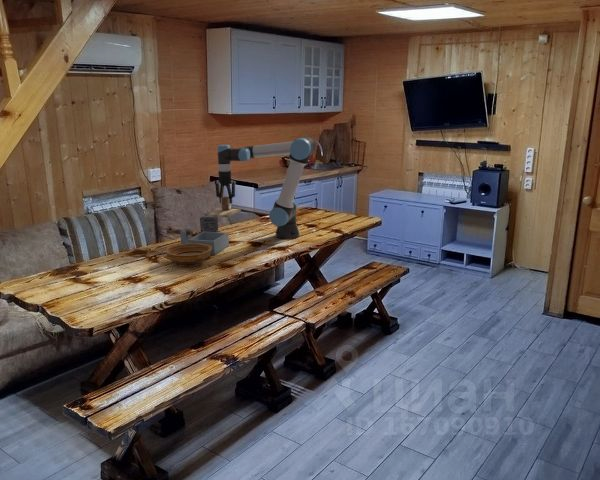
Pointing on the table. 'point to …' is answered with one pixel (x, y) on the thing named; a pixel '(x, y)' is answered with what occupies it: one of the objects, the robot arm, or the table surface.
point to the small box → (209, 224)
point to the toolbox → (207, 240)
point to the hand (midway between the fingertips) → (226, 208)
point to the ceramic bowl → (188, 253)
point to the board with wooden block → (223, 210)
